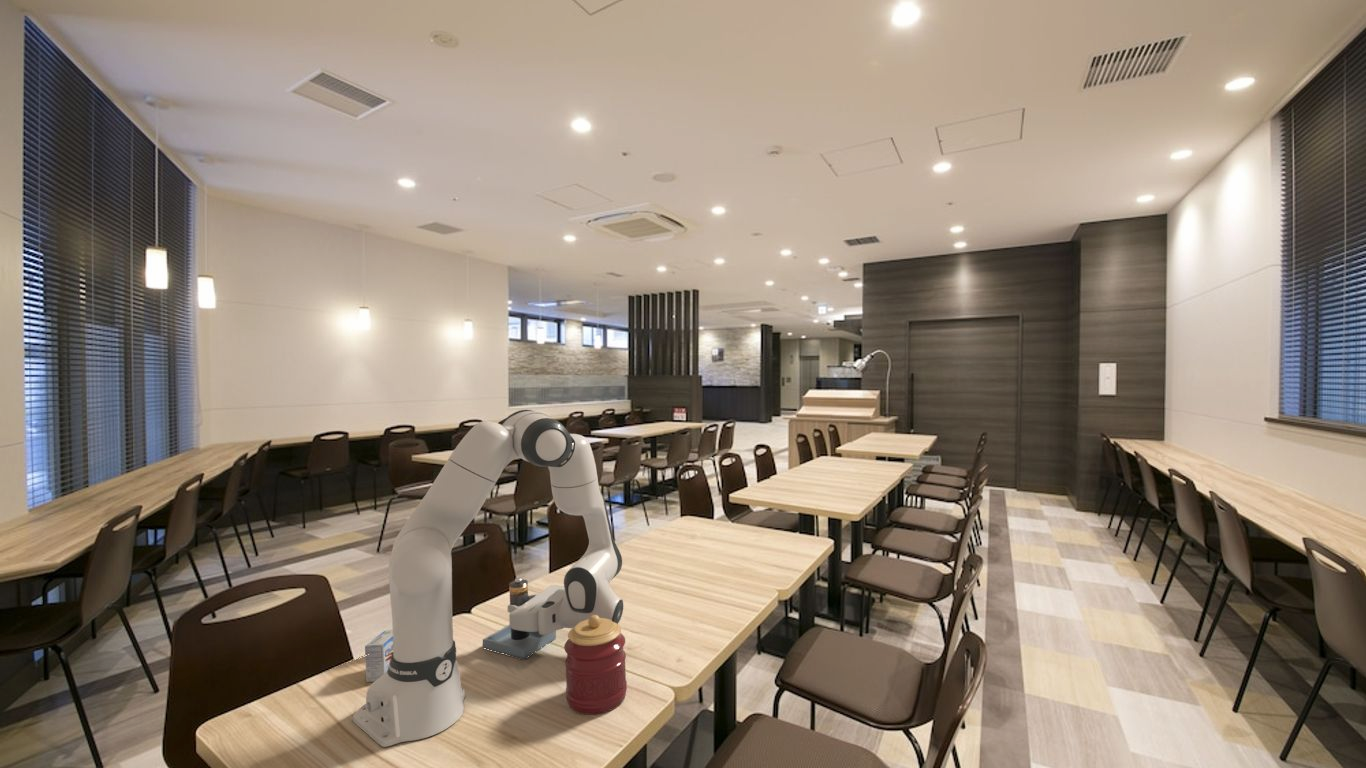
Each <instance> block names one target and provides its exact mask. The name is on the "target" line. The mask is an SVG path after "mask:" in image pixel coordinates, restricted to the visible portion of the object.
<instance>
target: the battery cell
mask: <svg viewBox="0 0 1366 768" xmlns="http://www.w3.org/2000/svg"><path fill="white" fill-rule="evenodd" d="M528 585H529V582H528V580H527V579H523V578H522V577H516V578H515V579H514V580H513V581H509V589H508V590H509V605H510V604H512V603H513V604H517V606H518V607H519V606H521V605H523V604H524V603H526V602H527V601H528V595H529V586H528ZM528 636H529V632H525V631H519V630H514V629H512V628H511V639H513V640H522V639H525V638H527V637H528Z"/></svg>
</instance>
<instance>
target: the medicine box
mask: <svg viewBox="0 0 1366 768" xmlns="http://www.w3.org/2000/svg"><path fill="white" fill-rule="evenodd" d="M392 652H393V629H390V630H384V631H383V632H381V633H380V634H379V635H378V636H376V637H375V638H374V639H372V641H370V642H368V643H367V644H366V645H364V658H365V660H364V661H365V682H366V683H373V682H375V681H376V680H377V679H378V678H379V677H380V676H382V675H383V674H384V673H385V672H386V671H387V670H388V667H389V663H390V660H391V659H389V660H387V661H385V660H386V659H387V658H388V657H389V656H391V655H389V656H387V657H385V656H386V655H388V654H390V653H392ZM368 654H369V655H368ZM365 655H367V656H365Z"/></svg>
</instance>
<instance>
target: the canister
mask: <svg viewBox="0 0 1366 768" xmlns="http://www.w3.org/2000/svg"><path fill="white" fill-rule="evenodd" d="M567 637H568V639H567V640H566V642H565V643H564V645H563V646H564V647H563V649H564V651H565V653H566V657H565V660H564V666H565V678H566V679H565V683H566V684H565V685H566V688H565V699H566V701H567V705H568V707H569V708H570V709H571V710H572V711H574V712H576V713H579V714H583V715H598V714H599V715H600V714H603V713H607V712H610V711H612V710H613V709H616V708H617V707H619V706H620V705H621V704H622V703H623V701H625V698H626V696H627V695H626V694H627V691H628V686H627V685H628V683H627V679H626V656H627V654H626V652H625V650H624V646H625V645H626V637H625V636H624V634H623V633H622V627H621V626H620V624H619V623H618V624H617V623H615V622H613V621H611V620H609V619H606V618H600V617H599V616H598V615H592V616H591V617H590V618H589V619H587V620H584V621H582V622H580V623H578V624H577V625H576V626H575V627H573V628H570V630H569V632H568V634H567Z"/></svg>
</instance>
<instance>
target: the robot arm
mask: <svg viewBox="0 0 1366 768" xmlns="http://www.w3.org/2000/svg"><path fill="white" fill-rule="evenodd" d="M518 458H520V459H522V461H525V462H528V463H530V464H531V465H534V466H536V467H543V468H544V467H545V468H546V467H547V468H548V471H549V476H550V477H549V478H550V485H551V493H552V494H551V495H552V498H553V501H554V503H555V506H556V508H557V509H558V510H559V511H561V512H562V513H564V514H567V515H570V516H582V517H583V520H584V524H585V529H586V532H587V537H588V546H587V548H586V551H585V552H584V554H583V555H582V556H581V557H580V558H579V559H578V560H577V561H576V562H575V563H573V565H572V566H571V567H570V568H569V569H568V571H567V572H566V573H565V575H564V578H563V585H559V584H553V585H550V586H548V587H547V588H545V589H544V590H542V591H541V592H539V593H534V594H528V601H527V602H526V603H524V604H523V605H521V606H519V607H518V606H517V604H513V603H512V604H510V603H509V605H507V612H508V613H509V619H508V620H509V624H510V627H511V628H512V629H514V630H519V631H525V632H537V631H539V634H540V635H547V634H549V633H551V632H553V631H556V632H557V631H559V630H564V629H572V628H573V627H575V626H576V625H577V624H578V623H580V622H582V621H584V620H587V619H589V618H590V617H591V616H592V615H598V616H599V617H600V618H606V619H609V620H611V621H613V622H615V623H617V624H618V625H619V623H620V621H621V619H622V617H623V612H624V600H623V599H622V598H621V597H619V596H618V595H617V594H616V593H615V592H614V591H613V590H612V588H611V586H610V582H611V581H612V580H613V579H614V578H615V577H616V576H617V575H618V574H619V573H620V571H621V570H622V567H623V558H622V554H621V552H620V549H619V548H618V546H617V544H616V542H615V539H614V536H613V531H612V527H611V522H610V517H609V513H608V508H607V503H606V500H605V498H604V495H603V493H602V492H601V491H600V485H599V478H598V473H597V464H596V461H595V460H596V459H595V456H594V453H593V449H592V446H591V443H590V441H589V440H588V439H587V438H586V437H585V436H583V435H582V434H577V433H570V432H569V431H568V429H567V428H566V427H565V426H564V425H563V424H562V423H561V422H559V420H557V419H554V418H552V417H550V416H549V415H547V414H545V413H542V412H538V411H535V410H531V409H521V410H518V411H515V412H513V413H510V414H509V415H508V416H507V417H505V418H504V419H502V420H501V421H499V422H494V421H489V420H483V421H480V422H477V423H476V424H474V425H473V427H472V428H470V430H468V431H467V433H466V434H465V435H464V436H463V438H462V439H461V440H460V441H459V443H458V444H457V445H456V447H455V448H454V450H453V451H452V452H451V454H450V456H448V459H447V460H446V462H445V464H444V465H443V467H442V468H441V469H440V472H439V473H438V475H437V476H436V478H435V479H434V481H433V482H432V484H431V486H430V488H428V490H427V492H426V494H425V495H424V496H423V498H422V499H421V501H420V502H418V505H417V506H416V507H415V509H414V510H413V512H412V513H411V515H409V518H408V519H407V521H406V522H405V523H404V525H403V527H402V528H401V530H400V531H399V532H398V534H397V535H396V537H395V539H394V542H393V544H392V550H391V553H390V557H389V562H388V581H389V594H390V595H389V597H390V608H391V619H392V620H391V621H392V622H391V623H392V630H393V652H392V653H390V654H388V655H386V656H385V657H387V656H389V655H391V656H389V657H388V658H387V659H386V660H385V661H387V660H389V659H391V660H390V663H389V667H388V670H387V671H386V672H385V673H384V674H383V675H382V676H380V677H379V678H378V679H377V680H376V681H375V682H371V684H370V686H369V687H368V689H367V691H366V695H365V704H363V705H362V706H361V707H359V709H357V710H356V711H355V713H354V714H353V715H352V722H353V723H354V724H355V725H356V726H357V727H359V728H360V729H361V730H363V732H365V733H366V734H367V735H368V736H369V737H371V739H372V740H373V741H375V742H376V743H377V744H378V745H379V746H380V747H383V748H384V747H385V748H386V747H390V746H393V745H396V744H397V745H398V744H399V743H404V742H410V741H418V740H422V739H426V738H428V737H431V736H434V735H437V734H439V733H442V732H443V731H445V730H446V729H449V727H451V726H452V725H454V724H455V723H456V722H457V721H458V720H460V718H461V716H462V715H463V713H464V710H465V707H464V699H465V697H466V692H465V691H466V690H465V689H463V688H462V684H461V683H462V682H461V675H460V670H459V668H460V667H459V663H458V661H457V646H456V642H455V640H454V630H453V624H454V623H453V574H452V573H453V568H452V567H453V566H452V565H453V564H452V563H453V562H452V550H453V547H454V545H455V544H456V542H457V541H458V540H459V538H460V536H461V535H462V534H463V532H464V531H465V530H466V529H467V527H468V526H469V525H470V523H471V522H472V521H473V520H474V519H475V518H476V517H477V515H478V513H479V512H480V510H481V509H482V507H483V506H484V504H485V502H486V500H487V499H488V497H489V496H490V493H491V492H492V490H493V489H494V487H495V485H496V484H497V482H498V480H499V478H500V476H501V475H502V472H503V471H504V469H505V468H506V467H507V466H508V465H509V464H510V463H511V462H512V461H514V460H515V459H518Z"/></svg>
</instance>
